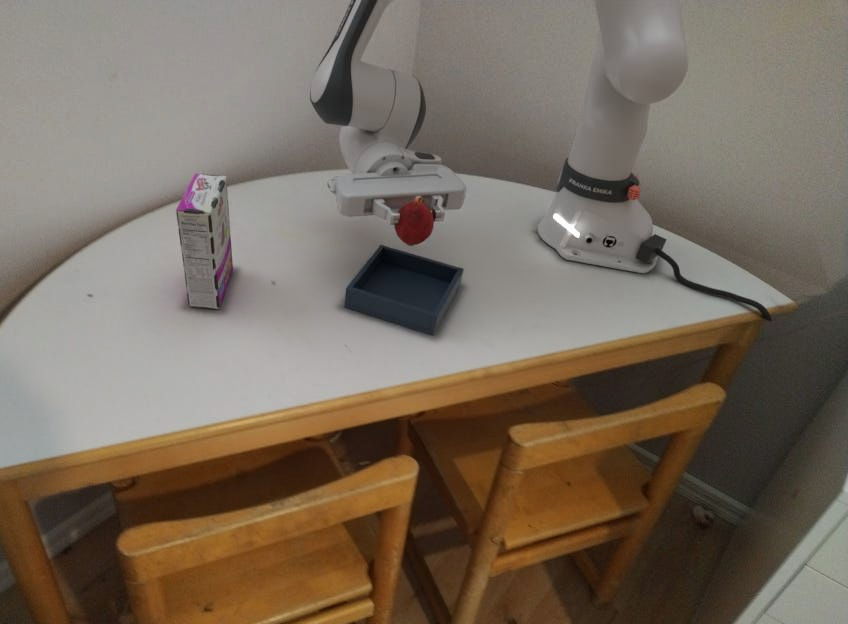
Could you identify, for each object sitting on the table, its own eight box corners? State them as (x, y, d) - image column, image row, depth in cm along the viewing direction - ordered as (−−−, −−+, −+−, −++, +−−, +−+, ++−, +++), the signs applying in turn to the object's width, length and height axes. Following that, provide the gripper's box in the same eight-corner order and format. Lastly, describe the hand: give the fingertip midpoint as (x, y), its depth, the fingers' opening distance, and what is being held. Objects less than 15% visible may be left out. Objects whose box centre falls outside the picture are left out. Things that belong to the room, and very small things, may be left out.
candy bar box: (202, 267, 103) (193, 171, 93) (233, 270, 104) (228, 175, 93) (186, 308, 95) (174, 208, 84) (219, 311, 95) (212, 212, 84)
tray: (459, 286, 106) (463, 268, 104) (433, 335, 96) (437, 316, 93) (378, 262, 109) (380, 244, 107) (344, 307, 99) (345, 288, 96)
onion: (426, 259, 94) (435, 210, 89) (388, 251, 94) (395, 202, 89) (431, 239, 98) (440, 191, 93) (395, 232, 99) (402, 184, 94)
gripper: (325, 159, 97) (351, 203, 87) (447, 154, 103) (484, 194, 93) (323, 197, 101) (347, 243, 92) (440, 190, 107) (475, 232, 98)
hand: (418, 218), depth 92 cm, fingers closed on onion, 6 cm apart
